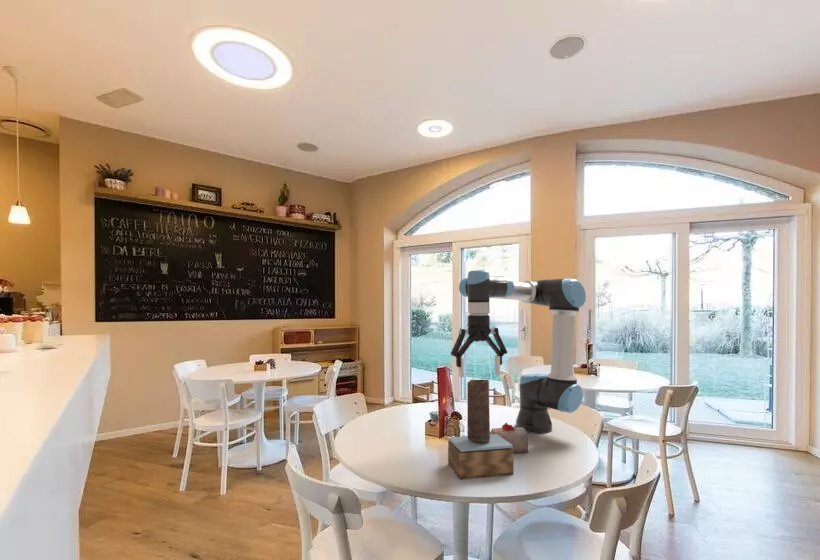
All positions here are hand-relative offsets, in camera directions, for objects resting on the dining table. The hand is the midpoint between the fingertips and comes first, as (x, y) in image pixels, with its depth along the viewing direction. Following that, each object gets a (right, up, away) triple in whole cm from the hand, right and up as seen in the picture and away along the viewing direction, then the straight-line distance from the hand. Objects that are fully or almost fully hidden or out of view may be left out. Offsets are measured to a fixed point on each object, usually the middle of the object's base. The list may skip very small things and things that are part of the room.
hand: (479, 375), depth 144 cm
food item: (+12, -30, +8) cm, 33 cm away
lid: (-1, -21, -8) cm, 22 cm away
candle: (-2, -20, -8) cm, 22 cm away
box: (-1, -29, -8) cm, 30 cm away
